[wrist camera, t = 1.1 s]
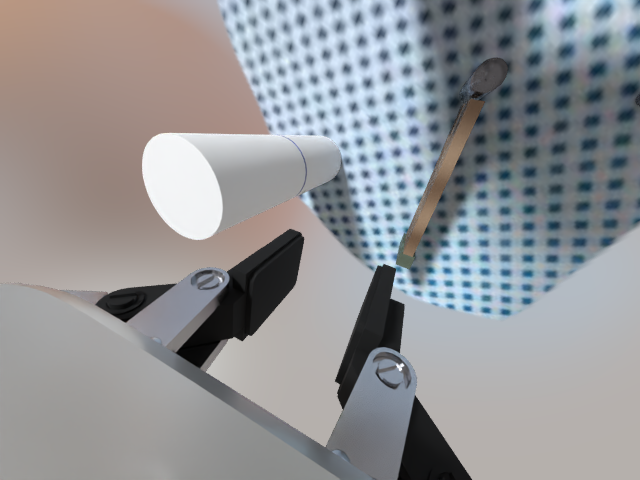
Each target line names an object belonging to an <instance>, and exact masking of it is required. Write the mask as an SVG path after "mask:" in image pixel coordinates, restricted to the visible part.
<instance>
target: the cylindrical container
mask: <svg viewBox="0 0 640 480" xmlns="http://www.w3.org/2000/svg"><path fill="white" fill-rule="evenodd" d="M340 166H341V154H340V151H339V148H338V147H337V145H336V144H335V143H334V141H333V140H331V139H330V138H328V137H325V136H304V135H244V134H193V133H192V134H190V133H163V134H159V135H157V136H155V137H153V138H152V139H151V140H150V141H149V142H148V144H147V146H146V148H145V150H144V154H143V160H142V170H143V178H144V182H145V187H146V189H147V192H148V195H149V197H150V199H151V201H152V204H153V205H154V207H155V208H156V210H157V212H158V213H159V215H160V216H161V217H162V218H163V220H164V221H165V222H166V223H167V224H168V225H169V226H170V227H171V228H173V229H174V230H175V231H176V232H178V233H179V234H181V235H182V236H184V237H187V238H190V239H195V240H202V239H206V238H208V237H210V236H213V235H215V234H217V233H219V232H221V231H223V230H225V229H228V228H230V227H232V226H234V225H236V224H238V223H241V222H243V221H245V220H247V219H249V218H251V217H253V216H255V215H257V214H260V213H262V212H264V211H266V210H268V209H271V208H273V207H275V206H277V205H279V204H281V203H283V202H285V201H288V200H290V199H292V198H294V197H296V196H298V195H301V194H303V193H305V192H307V191H309V190H311V189H313V188H315V187H318V186H320V185H322V184H324V183H326V182H328V181H330V180H332V179H333V178H334V177H335V176H336V175H337V173H338V172H339V169H340Z"/></svg>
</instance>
